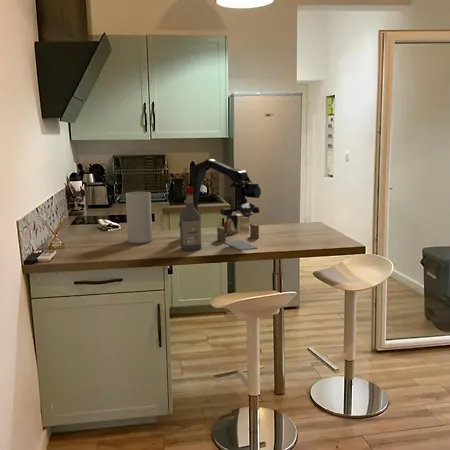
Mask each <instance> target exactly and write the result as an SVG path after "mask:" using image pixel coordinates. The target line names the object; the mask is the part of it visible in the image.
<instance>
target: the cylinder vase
mask: <svg viewBox="0 0 450 450" xmlns="http://www.w3.org/2000/svg"><path fill="white" fill-rule="evenodd" d="M151 196H152V193H151V191H150V192H149V191H130V192H126V193H125V206H126V207H125V208H126V224H127V225H126V226H127V241H128V243H130V244H138V245H139V244H148V243H151V242H152V241H153V223H152V221H153V219H152V197H151Z"/></svg>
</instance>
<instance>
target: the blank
mask: <svg viewBox="0 0 450 450" xmlns="http://www.w3.org/2000/svg"><path fill="white" fill-rule="evenodd" d="M236 215H237V229H236V228H235V227H234V224H233V222H232V220H231V230H232V231H234V232H236V234H239V235H240V236H243V235H244V236H245V235H250V217H249V218H248V217H246V216H243V215H242V214H240V213H236Z"/></svg>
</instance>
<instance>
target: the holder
mask: <svg viewBox="0 0 450 450" xmlns="http://www.w3.org/2000/svg"><path fill="white" fill-rule="evenodd" d="M216 233H217V236H216V237H217V238H216V239H217V242H219V243H223V244H224V242H227V241H226V236H227V234H225V228H224V226H217V228H216ZM259 234H260V226H259V225H258V224H256V223H249V237H250V238H252V239H255V240H258V239H260V235H259Z"/></svg>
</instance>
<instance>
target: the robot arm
mask: <svg viewBox="0 0 450 450" xmlns="http://www.w3.org/2000/svg"><path fill="white" fill-rule="evenodd" d="M211 169H212V170H214V171H216V172H219V173H221V174H223V175H224V176H226V177H228V179H229V180H231V182H232V183H231V184H230V186H229V187H230V188H233V198H232V201H233V206H232V208H229V207H223V208H221V209H220V210H219V212H220V215H222V216H228V217H230V218H229V219H231V220H232V222H233V224H234V227H235V228H236V229H237V215H236V214H240V213H241V215H243V216H246V217H248V218H249V219H250V217H251V216H253V214H259V213H260V208H259V207H258V206H256V205H255V203H254V202H249V203H248V198H250V199H251V198H253V199H258V198H260V196H261V194H262V190H261V187H260V186H259V183H253V182H252V180H251V179H250V177H249V175H248V172H247V171H246V170H243V169H240V168H233V167H231V166H228V165H226V164H224V163H222V162H220V161H218V160H216V159H214V158H207V159H205V160H204V161H201V162H199V163H196V164H193V165H191V166H190V168H189V177H190V179H191V184H190V187H193V205H194V208H195V209H196V210H197V211H198V213H199V214H200V215H201V214H202V213H201V211H199V209H198V206H199V200H200V194H201V193H200V192H201V186H202V182H203V180H204V179H205V177H206V176H207V175H206V174H207V172H208V171H209V170H211ZM178 225H179V227H180V222H179V223H178Z"/></svg>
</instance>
